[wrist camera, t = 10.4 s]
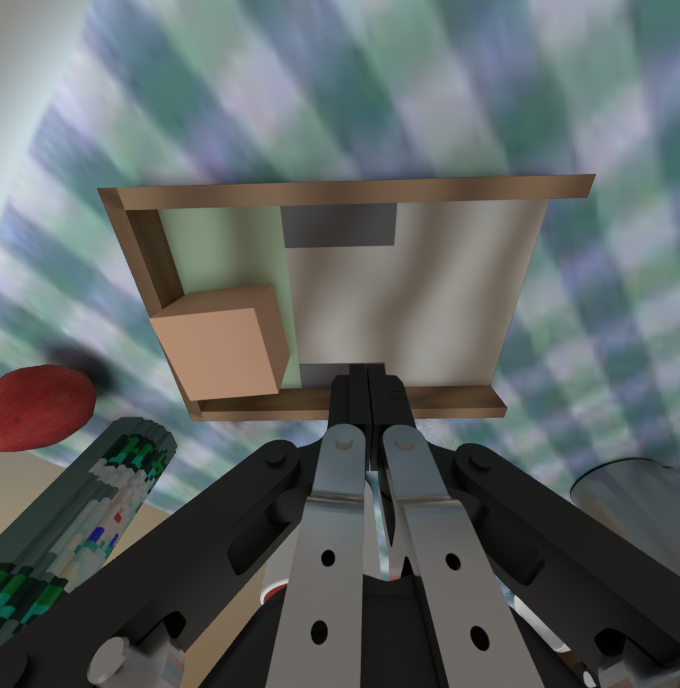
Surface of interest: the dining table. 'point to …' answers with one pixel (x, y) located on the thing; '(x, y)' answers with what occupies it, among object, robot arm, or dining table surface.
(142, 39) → the dining table surface
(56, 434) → the red oval fruit
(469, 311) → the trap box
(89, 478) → the can
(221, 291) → the block
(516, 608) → the spread jar
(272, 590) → the cup
